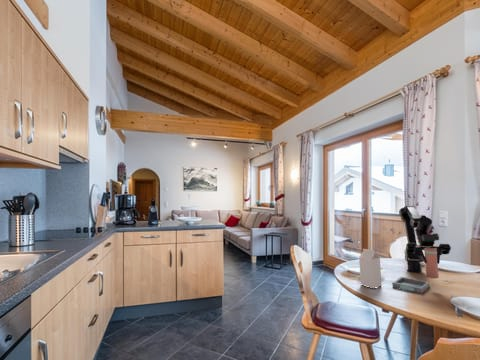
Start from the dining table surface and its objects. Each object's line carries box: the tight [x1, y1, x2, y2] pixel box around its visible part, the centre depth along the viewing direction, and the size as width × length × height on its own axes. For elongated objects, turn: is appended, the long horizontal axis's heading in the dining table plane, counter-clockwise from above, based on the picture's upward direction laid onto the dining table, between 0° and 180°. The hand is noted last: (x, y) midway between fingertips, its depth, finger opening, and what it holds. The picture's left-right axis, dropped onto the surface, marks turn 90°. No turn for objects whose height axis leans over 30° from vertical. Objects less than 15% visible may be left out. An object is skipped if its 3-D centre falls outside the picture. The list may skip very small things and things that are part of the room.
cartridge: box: [423, 247, 440, 279], centre depth 131 cm, size 5×5×14 cm
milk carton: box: [358, 248, 383, 288], centre depth 139 cm, size 7×7×19 cm
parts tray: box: [391, 276, 430, 295], centre depth 135 cm, size 13×13×2 cm
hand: (432, 263), depth 130 cm, fingers closed on cartridge, 5 cm apart
